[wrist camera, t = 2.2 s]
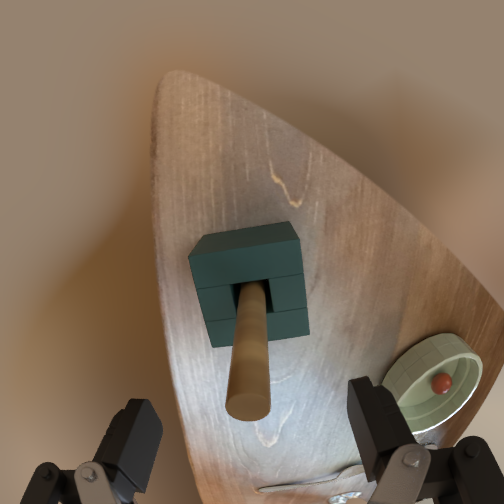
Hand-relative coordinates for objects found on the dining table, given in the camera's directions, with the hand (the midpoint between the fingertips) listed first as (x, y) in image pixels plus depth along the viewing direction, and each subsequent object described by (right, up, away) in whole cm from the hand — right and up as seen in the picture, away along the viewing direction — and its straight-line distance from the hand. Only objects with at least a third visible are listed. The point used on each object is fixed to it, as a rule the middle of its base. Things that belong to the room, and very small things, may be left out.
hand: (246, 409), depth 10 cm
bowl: (+22, -9, +19) cm, 31 cm away
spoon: (+11, -32, +27) cm, 43 cm away
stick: (0, +5, +15) cm, 16 cm away
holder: (0, +5, +15) cm, 16 cm away
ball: (+24, -10, +17) cm, 31 cm away
